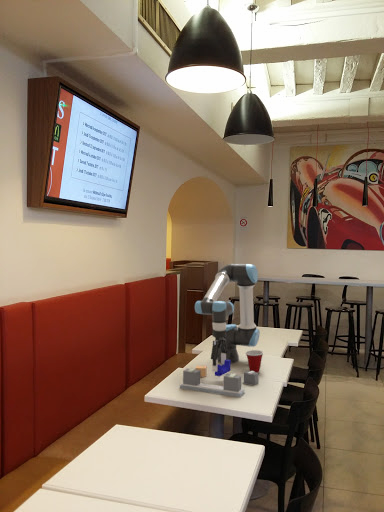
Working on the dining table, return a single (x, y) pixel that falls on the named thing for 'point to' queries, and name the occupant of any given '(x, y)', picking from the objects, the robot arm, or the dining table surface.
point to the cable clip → (223, 368)
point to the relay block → (251, 377)
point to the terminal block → (202, 370)
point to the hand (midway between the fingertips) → (219, 367)
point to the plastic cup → (254, 360)
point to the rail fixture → (229, 388)
